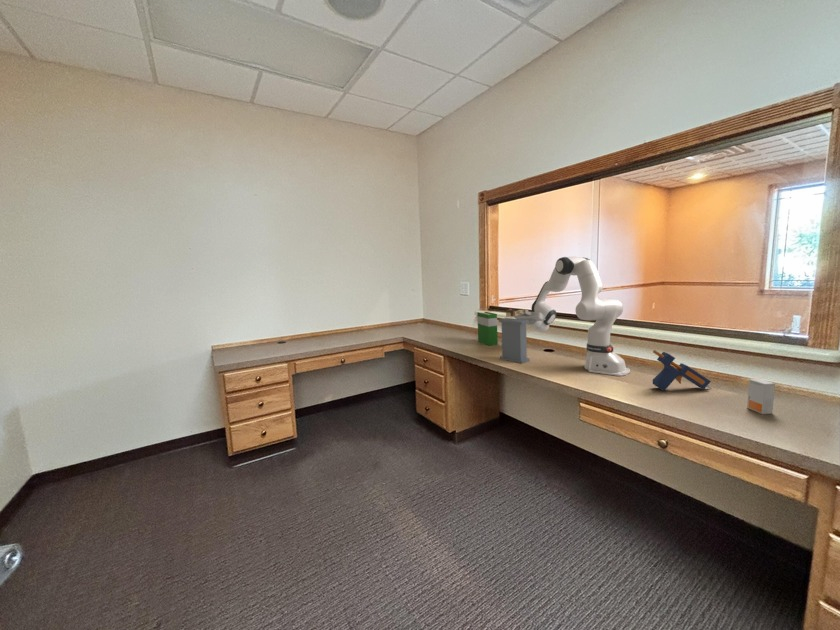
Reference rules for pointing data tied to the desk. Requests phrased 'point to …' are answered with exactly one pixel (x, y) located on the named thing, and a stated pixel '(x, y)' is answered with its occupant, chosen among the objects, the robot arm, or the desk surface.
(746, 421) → the desk surface
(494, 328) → the green white box
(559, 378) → the desk surface
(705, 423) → the desk surface
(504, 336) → the stand
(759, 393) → the skincare box
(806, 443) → the desk surface
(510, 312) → the marking gauge
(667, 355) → the glue gun
